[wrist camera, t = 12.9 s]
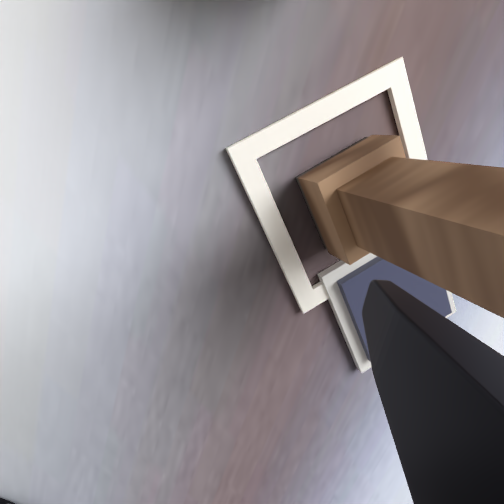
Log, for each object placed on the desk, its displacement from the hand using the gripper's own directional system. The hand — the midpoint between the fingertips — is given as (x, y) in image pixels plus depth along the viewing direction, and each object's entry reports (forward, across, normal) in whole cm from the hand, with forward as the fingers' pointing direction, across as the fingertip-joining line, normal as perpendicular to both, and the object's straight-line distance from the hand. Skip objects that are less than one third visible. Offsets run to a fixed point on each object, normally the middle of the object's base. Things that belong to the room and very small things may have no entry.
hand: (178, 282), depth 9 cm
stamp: (+15, -8, +3) cm, 17 cm away
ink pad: (+14, -12, +10) cm, 21 cm away
